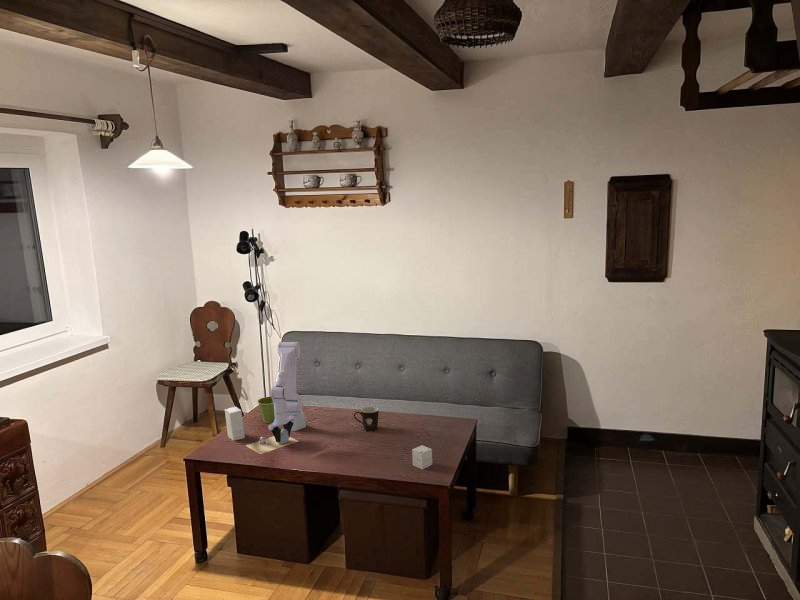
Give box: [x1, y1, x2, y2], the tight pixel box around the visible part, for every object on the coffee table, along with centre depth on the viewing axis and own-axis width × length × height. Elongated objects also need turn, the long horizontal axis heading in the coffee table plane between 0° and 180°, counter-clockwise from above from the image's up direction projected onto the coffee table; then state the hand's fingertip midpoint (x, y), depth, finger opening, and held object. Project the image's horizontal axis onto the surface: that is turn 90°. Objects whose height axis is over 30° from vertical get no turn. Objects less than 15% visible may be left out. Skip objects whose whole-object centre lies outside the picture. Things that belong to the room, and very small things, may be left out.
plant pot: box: [256, 395, 275, 424], centre depth 326 cm, size 12×12×11 cm
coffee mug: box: [353, 406, 380, 432], centre depth 310 cm, size 12×9×10 cm
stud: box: [259, 435, 267, 445], centre depth 295 cm, size 3×3×3 cm
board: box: [244, 435, 299, 455], centre depth 295 cm, size 20×14×1 cm
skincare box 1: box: [224, 406, 246, 441], centre depth 303 cm, size 8×6×15 cm
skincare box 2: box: [411, 444, 433, 470], centre depth 268 cm, size 6×6×7 cm
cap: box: [277, 428, 289, 444], centre depth 294 cm, size 5×5×5 cm
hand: (282, 439), depth 295 cm, fingers closed on cap, 5 cm apart
